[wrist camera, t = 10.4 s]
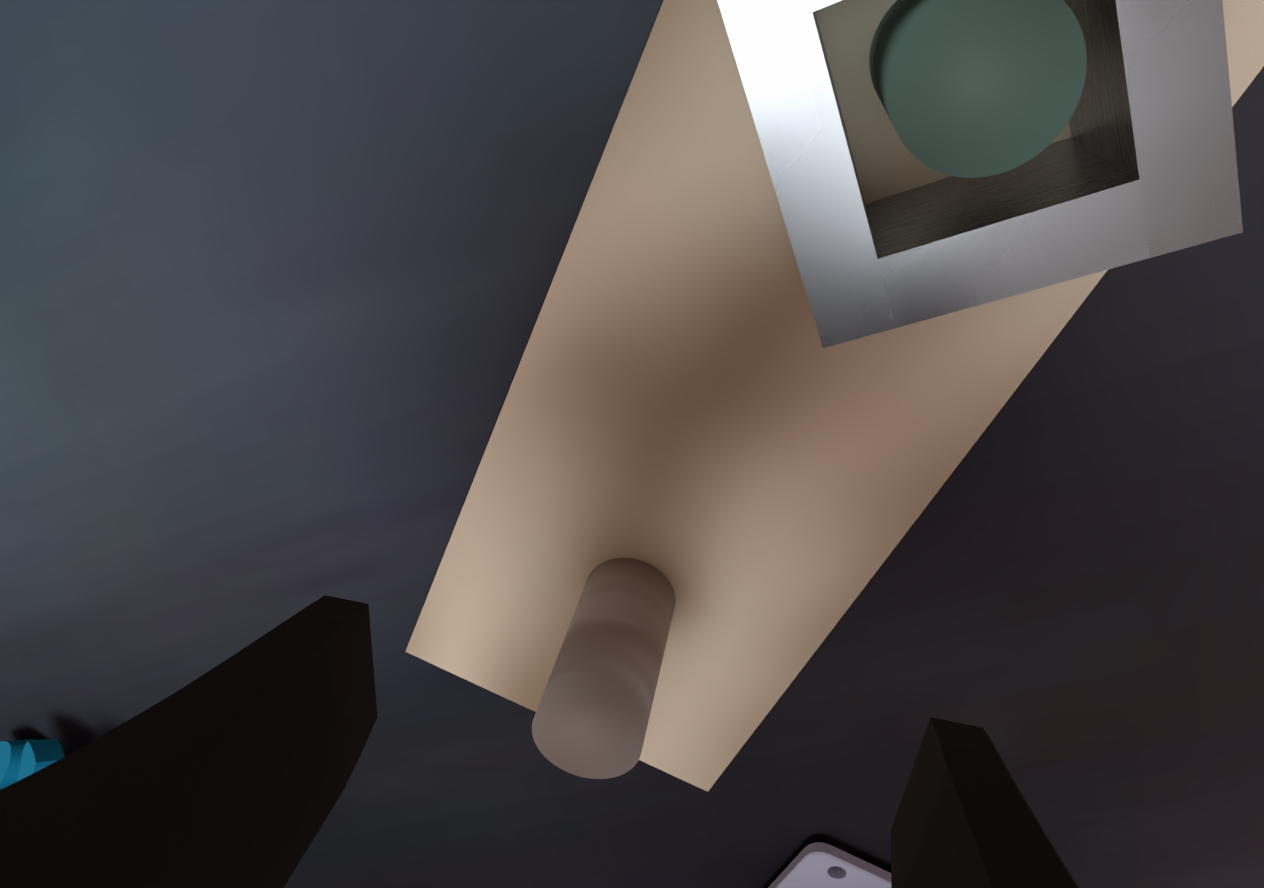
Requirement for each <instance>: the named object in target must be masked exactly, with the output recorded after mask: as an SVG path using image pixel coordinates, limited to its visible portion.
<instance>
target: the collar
mask: <svg viewBox="0 0 1264 888" xmlns="http://www.w3.org/2000/svg"><path fill="white" fill-rule="evenodd" d="M717 1H718V5H719V8H720V11H721V14H722V18H723V21H724V24H725V28H726V31H727V34H728V37H729V41H730V44H731V47H732V51H733V54H734V57H735V60H736V64H737V67H738V70H739V74H740V77H741V80H742V83H743V87H744V90H745V93H746V97H747V100H748V103H749V106H750V110H751V113H752V116H753V120H754V123H755V126H756V130H757V133H758V136H759V139H760V143H761V146H762V149H763V153H764V156H765V159H766V162H767V166H768V169H769V172H770V176H771V179H772V182H773V185H774V189H775V192H776V195H777V199H778V202H779V205H780V208H781V212H782V215H783V218H784V222H785V225H786V228H787V232H788V235H789V238H790V241H791V245H792V248H793V251H794V255H795V258H796V261H797V264H798V268H799V271H800V274H801V278H802V281H803V284H804V287H805V291H806V294H807V297H808V301H809V304H810V307H811V310H812V314H813V317H814V320H815V324H816V327H817V330H818V334H819V337H820V340H821V343H822V347H823V348H826V347H830V346H833V345H837V344H840V343H844V342H848V341H851V340H855V339H859V338H862V337H866V336H869V335H873V334H877V333H880V332H884V331H888V330H891V329H895V328H898V327H902V326H906V325H909V324H913V323H916V322H920V321H924V320H927V319H931V318H935V317H938V316H942V315H945V314H949V313H953V312H956V311H960V310H963V309H967V308H971V307H974V306H978V305H982V304H985V303H989V302H992V301H996V300H1000V299H1003V298H1007V297H1011V296H1014V295H1018V294H1021V293H1025V292H1029V291H1032V290H1036V289H1039V288H1043V287H1047V286H1050V285H1054V284H1058V283H1061V282H1065V281H1068V280H1072V279H1076V278H1079V277H1083V276H1086V275H1090V274H1094V273H1097V272H1101V271H1105V270H1108V269H1112V268H1115V267H1119V266H1123V265H1126V264H1130V263H1133V262H1137V261H1141V260H1144V259H1148V258H1152V257H1155V256H1159V255H1162V254H1166V253H1170V252H1173V251H1177V250H1181V249H1184V248H1188V247H1191V246H1195V245H1199V244H1202V243H1206V242H1209V241H1213V240H1217V239H1220V238H1224V237H1228V236H1231V235H1235V234H1238V233H1242V232H1243V227H1242V216H1241V204H1240V193H1239V182H1238V170H1237V159H1236V148H1235V137H1234V125H1233V114H1232V103H1231V92H1230V80H1229V69H1228V58H1227V46H1226V35H1225V24H1224V13H1223V1H1222V0H1063V1H1064V2H1065V3H1066V4H1067V5H1068V7H1069V8H1070V9H1071V10H1072V12H1073V13H1074V15H1075V17H1076V18H1077V20H1078V22H1079V25H1080V27H1081V30H1082V32H1083V36H1084V40H1085V44H1086V53H1087V69H1086V77H1085V83H1084V87H1083V90H1082V94H1081V97H1080V100H1079V102H1078V104H1077V106H1076V109H1075V111H1074V113H1073V115H1072V116H1071V118H1070V120H1069V125H1070V131H1071V137H1070V138H1067V139H1064V140H1061V141H1058V142H1054V143H1051V144H1050V145H1049V146H1047V147H1046V148H1045V149H1044V150H1043V151H1042V152H1040V153H1039V154H1038V155H1036V156H1035V157H1033V158H1032V159H1031V160H1029V161H1028V162H1026V163H1024V164H1022V165H1020V166H1018V167H1016V168H1014V169H1012V170H1009V171H1006V172H1004V173H1000V174H997V175H993V176H987V177H980V178H963V177H955V176H950V177H947V178H944V179H941V180H938V181H935V182H932V183H929V184H926V185H923V186H920V187H917V188H914V189H911V190H908V191H904V192H901V193H898V194H895V195H892V196H889V197H886V198H883V199H880V200H877V201H874V202H871V203H868V204H866V202H865V198H864V195H863V191H862V187H861V183H860V179H859V176H858V172H857V168H856V164H855V160H854V157H853V153H852V149H851V145H850V141H849V138H848V134H847V130H846V126H845V122H844V119H843V115H842V111H841V107H840V103H839V100H838V96H837V92H836V88H835V84H834V81H833V77H832V73H831V69H830V65H829V62H828V58H827V54H826V50H825V46H824V43H823V39H822V35H821V31H820V27H819V24H818V20H817V16H816V12H815V11H817V10H819V9H822V8H824V7H827V6H829V5H832V4H834V3H837V2H839V1H841V0H717Z"/></svg>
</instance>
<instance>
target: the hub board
mask: <svg viewBox="0 0 1264 888" xmlns="http://www.w3.org/2000/svg"><path fill="white" fill-rule="evenodd" d="M1222 1H1223V13H1224V24H1225V35H1226V46H1227V58H1228V69H1229V80H1230V92H1231V103H1232V107H1233V106H1234V104H1235V103H1236V102H1237V100H1238V99H1239V98H1240V97H1241V95H1242V94H1243V93H1244V91H1245V90H1246V89H1247V87H1248V86H1249V85H1250V83H1251V82H1252V81H1253V80H1254V78H1255V77H1256V76H1257V74H1258V73H1259V72H1260V70H1261V69H1262V68H1263V66H1264V0H1222ZM815 12H816V16H817V20H818V24H819V27H820V31H821V35H822V39H823V43H824V46H825V50H826V54H827V58H828V62H829V65H830V69H831V73H832V77H833V81H834V84H835V88H836V92H837V96H838V100H839V103H840V107H841V111H842V115H843V119H844V122H845V126H846V130H847V134H848V138H849V141H850V145H851V149H852V153H853V157H854V160H855V164H856V168H857V172H858V176H859V179H860V183H861V187H862V191H863V195H864V198H865V202H866V204H868V203H871V202H874V201H877V200H880V199H883V198H886V197H889V196H892V195H895V194H898V193H901V192H904V191H908V190H911V189H914V188H917V187H920V186H923V185H926V184H929V183H932V182H935V181H938V180H941V179H944V178H947V177H950V176H955V177H963V178H980V177H987V176H993V175H997V174H1000V173H1004V172H1006V171H1009V170H1012V169H1014V168H1016V167H1018V166H1020V165H1022V164H1024V163H1026V162H1028V161H1029V160H1031V159H1032V158H1033V157H1035V156H1036V155H1038V154H1039V153H1040V152H1042V151H1043V150H1044V149H1045V148H1046V147H1047V146H1049V145H1050V144H1051V143H1054V142H1058V141H1061V140H1064V139H1067V138H1070V137H1071V131H1070V125H1069V120H1070V118H1071V116H1072V115H1073V113H1074V111H1075V109H1076V106H1077V104H1078V102H1079V100H1080V97H1081V94H1082V90H1083V87H1084V83H1085V77H1086V69H1087V53H1086V44H1085V40H1084V36H1083V32H1082V30H1081V27H1080V25H1079V22H1078V20H1077V18H1076V17H1075V15H1074V13H1073V12H1072V10H1071V9H1070V8H1069V7H1068V5H1067V4H1066V3H1065V2H1064V1H1063V0H841V1H839V2H837V3H834V4H832V5H829V6H827V7H824V8H822V9H819V10H817V11H815ZM1106 271H1107V270H1105V271H1101V272H1097V273H1094V274H1090V275H1086V276H1083V277H1079V278H1076V279H1072V280H1068V281H1065V282H1061V283H1058V284H1054V285H1050V286H1047V287H1043V288H1039V289H1036V290H1032V291H1029V292H1025V293H1021V294H1018V295H1014V296H1011V297H1007V298H1003V299H1000V300H996V301H992V302H989V303H985V304H982V305H978V306H974V307H971V308H967V309H963V310H960V311H956V312H953V313H949V314H945V315H942V316H938V317H935V318H931V319H927V320H924V321H920V322H916V323H913V324H909V325H906V326H902V327H898V328H895V329H891V330H888V331H884V332H880V333H877V334H873V335H869V336H866V337H862V338H859V339H855V340H851V341H848V342H844V343H840V344H837V345H833V346H830V347H826V348H823V347H822V343H821V340H820V337H819V334H818V330H817V327H816V324H815V320H814V317H813V314H812V310H811V307H810V304H809V301H808V297H807V294H806V291H805V287H804V284H803V281H802V278H801V274H800V271H799V268H798V264H797V261H796V258H795V255H794V251H793V248H792V245H791V241H790V238H789V235H788V232H787V228H786V225H785V222H784V218H783V215H782V212H781V208H780V205H779V202H778V199H777V195H776V192H775V189H774V185H773V182H772V179H771V176H770V172H769V169H768V166H767V162H766V159H765V156H764V153H763V149H762V146H761V143H760V139H759V136H758V133H757V130H756V126H755V123H754V120H753V116H752V113H751V110H750V106H749V103H748V100H747V97H746V93H745V90H744V87H743V83H742V80H741V77H740V74H739V70H738V67H737V64H736V60H735V57H734V54H733V51H732V47H731V44H730V41H729V37H728V34H727V31H726V28H725V24H724V21H723V18H722V14H721V11H720V8H719V5H718V1H717V0H664V1H663V4H662V6H661V9H660V11H659V14H658V16H657V19H656V21H655V24H654V26H653V29H652V32H651V34H650V37H649V39H648V42H647V44H646V47H645V49H644V52H643V54H642V57H641V59H640V62H639V64H638V67H637V69H636V72H635V74H634V77H633V79H632V82H631V84H630V87H629V89H628V92H627V95H626V97H625V100H624V102H623V105H622V107H621V110H620V112H619V115H618V117H617V120H616V122H615V125H614V127H613V130H612V132H611V135H610V137H609V140H608V142H607V145H606V147H605V150H604V153H603V155H602V158H601V160H600V163H599V165H598V168H597V170H596V173H595V175H594V178H593V180H592V183H591V185H590V188H589V190H588V193H587V195H586V198H585V200H584V203H583V205H582V208H581V210H580V213H579V216H578V218H577V221H576V223H575V226H574V228H573V231H572V233H571V236H570V238H569V241H568V243H567V246H566V248H565V251H564V253H563V256H562V258H561V261H560V263H559V266H558V268H557V271H556V274H555V276H554V279H553V281H552V284H551V286H550V289H549V291H548V294H547V296H546V299H545V301H544V304H543V306H542V309H541V311H540V314H539V316H538V319H537V321H536V324H535V326H534V329H533V331H532V334H531V337H530V339H529V342H528V344H527V347H526V349H525V352H524V354H523V357H522V359H521V362H520V364H519V367H518V369H517V372H516V374H515V377H514V379H513V382H512V384H511V387H510V389H509V392H508V395H507V397H506V400H505V402H504V405H503V407H502V410H501V412H500V415H499V417H498V420H497V422H496V425H495V427H494V430H493V432H492V435H491V437H490V440H489V442H488V445H487V447H486V450H485V452H484V455H483V458H482V460H481V463H480V465H479V468H478V470H477V473H476V475H475V478H474V480H473V483H472V485H471V488H470V490H469V493H468V495H467V498H466V500H465V503H464V505H463V508H462V510H461V513H460V516H459V518H458V521H457V523H456V526H455V528H454V531H453V533H452V536H451V538H450V541H449V543H448V546H447V548H446V551H445V553H444V556H443V558H442V561H441V563H440V566H439V568H438V571H437V573H436V576H435V579H434V581H433V584H432V586H431V589H430V591H429V594H428V596H427V599H426V601H425V604H424V606H423V609H422V611H421V614H420V616H419V619H418V621H417V624H416V626H415V629H414V631H413V634H412V637H411V639H410V642H409V644H408V647H407V649H406V652H407V653H409V654H412V655H414V656H416V657H418V658H420V659H422V660H425V661H427V662H429V663H431V664H433V665H435V666H437V667H440V668H442V669H444V670H446V671H448V672H450V673H453V674H455V675H457V676H459V677H461V678H463V679H466V680H468V681H470V682H472V683H474V684H476V685H478V686H481V687H483V688H485V689H487V690H489V691H491V692H494V693H496V694H498V695H500V696H502V697H504V698H507V699H509V700H511V701H513V702H515V703H517V704H520V705H522V706H524V707H526V708H528V709H530V710H532V711H535V712H536V714H535V716H534V719H533V723H532V735H533V738H534V741H535V743H536V745H537V747H538V749H539V750H540V752H541V753H542V754H543V755H544V756H545V757H546V758H547V759H548V760H549V761H550V762H551V763H553V764H554V765H556V766H557V767H559V768H560V769H562V770H564V771H566V772H568V773H571V774H573V775H577V776H580V777H585V778H591V779H608V778H613V777H617V776H620V775H622V774H624V773H626V772H628V771H629V770H631V769H632V768H633V767H634V766H635V765H636V763H637V762H638V760H640V761H643V762H645V763H647V764H649V765H651V766H653V767H656V768H658V769H660V770H662V771H664V772H666V773H668V774H671V775H673V776H675V777H677V778H679V779H681V780H684V781H686V782H688V783H690V784H692V785H694V786H697V787H699V788H701V789H703V790H705V791H707V792H708V791H709V790H710V788H711V787H712V786H713V784H714V783H715V782H716V780H717V779H718V778H719V776H720V775H721V774H722V773H723V771H724V770H725V769H726V767H727V766H728V765H729V763H730V762H731V761H732V759H733V758H734V757H735V756H736V754H737V753H738V752H739V750H740V749H741V748H742V746H743V745H744V744H745V743H746V741H747V740H748V739H749V737H750V736H751V735H752V733H753V732H754V731H755V729H756V728H757V727H758V726H759V724H760V723H761V722H762V720H763V719H764V718H765V716H766V715H767V714H768V713H769V711H770V710H771V709H772V707H773V706H774V705H775V703H776V702H777V701H778V699H779V698H780V697H781V696H782V694H783V693H784V692H785V690H786V689H787V688H788V686H789V685H790V684H791V682H792V681H793V680H794V679H795V677H796V676H797V675H798V673H799V672H800V671H801V669H802V668H803V667H804V666H805V664H806V663H807V662H808V660H809V659H810V658H811V656H812V655H813V654H814V652H815V651H816V650H817V649H818V647H819V646H820V645H821V643H822V642H823V641H824V639H825V638H826V637H827V636H828V634H829V633H830V632H831V630H832V629H833V628H834V626H835V625H836V624H837V622H838V621H839V620H840V619H841V617H842V616H843V615H844V613H845V612H846V611H847V609H848V608H849V607H850V605H851V604H852V603H853V602H854V600H855V599H856V598H857V596H858V595H859V594H860V592H861V591H862V590H863V589H864V587H865V586H866V585H867V583H868V582H869V581H870V579H871V578H872V577H873V575H874V574H875V573H876V572H877V570H878V569H879V568H880V566H881V565H882V564H883V562H884V561H885V560H886V559H887V557H888V556H889V555H890V553H891V552H892V551H893V549H894V548H895V547H896V545H897V544H898V543H899V542H900V540H901V539H902V538H903V536H904V535H905V534H906V532H907V531H908V530H909V528H910V527H911V526H912V525H913V523H914V522H915V521H916V519H917V518H918V517H919V515H920V514H921V513H922V512H923V510H924V509H925V508H926V506H927V505H928V504H929V502H930V501H931V500H932V498H933V497H934V496H935V495H936V493H937V492H938V491H939V489H940V488H941V487H942V485H943V484H944V483H945V482H946V480H947V479H948V478H949V476H950V475H951V474H952V472H953V471H954V470H955V468H956V467H957V466H958V465H959V463H960V462H961V461H962V459H963V458H964V457H965V455H966V454H967V453H968V451H969V450H970V449H971V448H972V446H973V445H974V444H975V442H976V441H977V440H978V438H979V437H980V436H981V435H982V433H983V432H984V431H985V429H986V428H987V427H988V425H989V424H990V423H991V421H992V420H993V419H994V418H995V416H996V415H997V414H998V412H999V411H1000V410H1001V408H1002V407H1003V406H1004V405H1005V403H1006V402H1007V401H1008V399H1009V398H1010V397H1011V395H1012V394H1013V393H1014V391H1015V390H1016V389H1017V388H1018V386H1019V385H1020V384H1021V382H1022V381H1023V380H1024V378H1025V377H1026V376H1027V374H1028V373H1029V372H1030V371H1031V369H1032V368H1033V367H1034V365H1035V364H1036V363H1037V361H1038V360H1039V359H1040V358H1041V356H1042V355H1043V354H1044V352H1045V351H1046V350H1047V348H1048V347H1049V346H1050V344H1051V343H1052V342H1053V341H1054V339H1055V338H1056V337H1057V335H1058V334H1059V333H1060V331H1061V330H1062V329H1063V328H1064V326H1065V325H1066V324H1067V322H1068V321H1069V320H1070V318H1071V317H1072V316H1073V314H1074V313H1075V312H1076V311H1077V309H1078V308H1079V307H1080V305H1081V304H1082V303H1083V301H1084V300H1085V299H1086V297H1087V296H1088V295H1089V294H1090V292H1091V291H1092V290H1093V288H1094V287H1095V286H1096V284H1097V283H1098V282H1099V281H1100V279H1101V278H1102V277H1103V275H1104V274H1105V273H1106Z"/></svg>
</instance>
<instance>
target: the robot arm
mask: <svg viewBox="0 0 1264 888" xmlns="http://www.w3.org/2000/svg"><path fill="white" fill-rule="evenodd" d="M376 719H377V707H376V694H375V682H374V669H373V657H372V644H371V632H370V619H369V607H368V604H365V603H361V602H356V601H351V600H346V599H341V598H336V597H331V596H326V595H325V596H323V597H322V598H320V599H319V600H317V601H315V602H314V603H312V604H311V605H309V606H308V607H306V608H304V609H303V610H301V611H300V612H298V613H297V614H295V615H294V616H292V617H291V618H289V619H288V620H286V621H285V622H283V623H282V624H280V625H279V626H277V627H276V628H274V629H273V630H271V631H270V632H268V633H267V634H265V635H264V636H262V637H261V638H259V639H258V640H256V641H255V642H253V643H252V644H250V645H248V646H247V647H245V648H244V649H242V650H241V651H239V652H238V653H236V654H235V655H233V656H232V657H230V658H229V659H227V660H226V661H224V662H222V663H221V664H219V665H218V666H216V667H215V668H213V669H212V670H210V671H208V672H207V673H205V674H204V675H202V676H201V677H199V678H198V679H196V680H194V681H193V682H191V683H190V684H188V685H187V686H185V687H183V688H182V689H180V690H179V691H177V692H176V693H174V694H172V695H171V696H169V697H167V698H166V699H164V700H162V701H160V702H159V703H157V704H155V705H154V706H152V707H150V708H149V709H147V710H145V711H144V712H142V713H140V714H138V715H137V716H135V717H133V718H132V719H130V720H128V721H127V722H125V723H123V724H121V725H120V726H118V727H116V728H115V729H113V730H111V731H110V732H108V733H106V734H104V735H103V736H101V737H99V738H98V739H96V740H94V741H93V742H91V743H89V744H87V745H86V746H84V747H82V748H80V749H78V750H76V751H75V752H73V753H71V754H69V755H67V756H65V757H64V758H62V759H60V760H58V761H56V762H54V763H52V764H50V765H48V766H47V767H45V768H43V769H41V770H39V771H37V772H35V773H33V774H31V775H29V776H27V777H25V778H23V779H21V780H19V781H17V782H15V783H13V784H11V785H9V786H7V787H5V788H3V789H1V790H0V888H283V887H284V886H285V884H286V882H287V881H288V879H289V878H290V876H291V874H292V873H293V871H294V870H295V868H296V866H297V865H298V863H299V862H300V860H301V858H302V857H303V855H304V854H305V852H306V850H307V849H308V847H309V846H310V844H311V842H312V841H313V839H314V837H315V836H316V834H317V833H318V831H319V829H320V828H321V826H322V824H323V823H324V821H325V820H326V818H327V816H328V815H329V813H330V811H331V810H332V808H333V806H334V805H335V803H336V801H337V800H338V798H339V796H340V795H341V793H342V791H343V790H344V788H345V786H346V784H347V782H348V780H349V777H350V775H351V773H352V771H353V769H354V767H355V765H356V763H357V761H358V759H359V757H360V755H361V752H362V750H363V748H364V746H365V743H366V741H367V739H368V737H369V734H370V732H371V730H372V728H373V726H374V723H375V721H376ZM768 888H1079V887H1078V886H1077V884H1076V882H1075V881H1074V879H1073V878H1072V876H1071V875H1070V873H1069V871H1068V870H1067V868H1066V867H1065V865H1064V864H1063V862H1062V860H1061V859H1060V857H1059V855H1058V854H1057V852H1056V851H1055V849H1054V847H1053V846H1052V844H1051V842H1050V841H1049V839H1048V837H1047V836H1046V834H1045V832H1044V831H1043V829H1042V827H1041V826H1040V824H1039V822H1038V821H1037V819H1036V817H1035V815H1034V814H1033V812H1032V810H1031V809H1030V807H1029V805H1028V804H1027V802H1026V800H1025V798H1024V797H1023V795H1022V793H1021V792H1020V790H1019V788H1018V786H1017V785H1016V783H1015V781H1014V779H1013V778H1012V776H1011V774H1010V772H1009V771H1008V769H1007V767H1006V765H1005V764H1004V762H1003V760H1002V758H1001V756H1000V755H999V753H998V751H997V749H996V748H995V746H994V744H993V742H992V741H991V739H990V737H989V736H988V734H987V733H986V731H985V730H984V729H983V728H981V727H976V726H971V725H966V724H961V723H956V722H951V721H946V720H941V719H936V718H930V721H929V724H928V727H927V729H926V732H925V735H924V738H923V741H922V744H921V746H920V749H919V752H918V755H917V758H916V761H915V763H914V766H913V769H912V772H911V775H910V778H909V780H908V783H907V786H906V789H905V792H904V795H903V797H902V800H901V803H900V806H899V809H898V812H897V814H896V817H895V820H894V823H893V826H892V829H891V873H890V872H888V871H885V870H883V869H881V868H879V867H877V866H875V865H872V864H870V863H868V862H866V861H864V860H862V859H860V858H857V857H855V856H853V855H851V854H849V853H847V852H844V851H842V850H840V849H838V848H836V847H834V846H831V845H829V844H826V843H823V842H815V843H811V844H809V845H808V846H806V847H805V848H804V849H803V850H802V851H801V852H800V853H799V854H798V855H797V857H796V858H795V859H794V860H793V861H792V862H791V863H790V864H789V865H788V866H787V867H786V869H785V870H784V871H783V872H782V873H781V874H780V875H779V876H778V877H777V878H776V879H775V880H774V882H773V883H772V884H771V885H770V886H769V887H768Z"/></svg>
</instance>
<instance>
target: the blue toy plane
mask: <svg viewBox="0 0 1264 888" xmlns="http://www.w3.org/2000/svg"><path fill="white" fill-rule="evenodd" d="M62 758H64V752H63V749H62V747H61V745H60V743H59V741H58V739H57V738H54V739H43V740H35V739H25V740H14V741H3V742H0V790H1V789H3V788H5V787H7V786H9V785H11V784H13V783H15V782H17V781H19V780H21V779H23V778H25V777H27V776H29V775H31V774H33V773H35V772H37V771H39V770H41V769H43V768H45V767H47V766H48V765H50V764H52V763H54V762H56V761H58V760H60V759H62Z"/></svg>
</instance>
